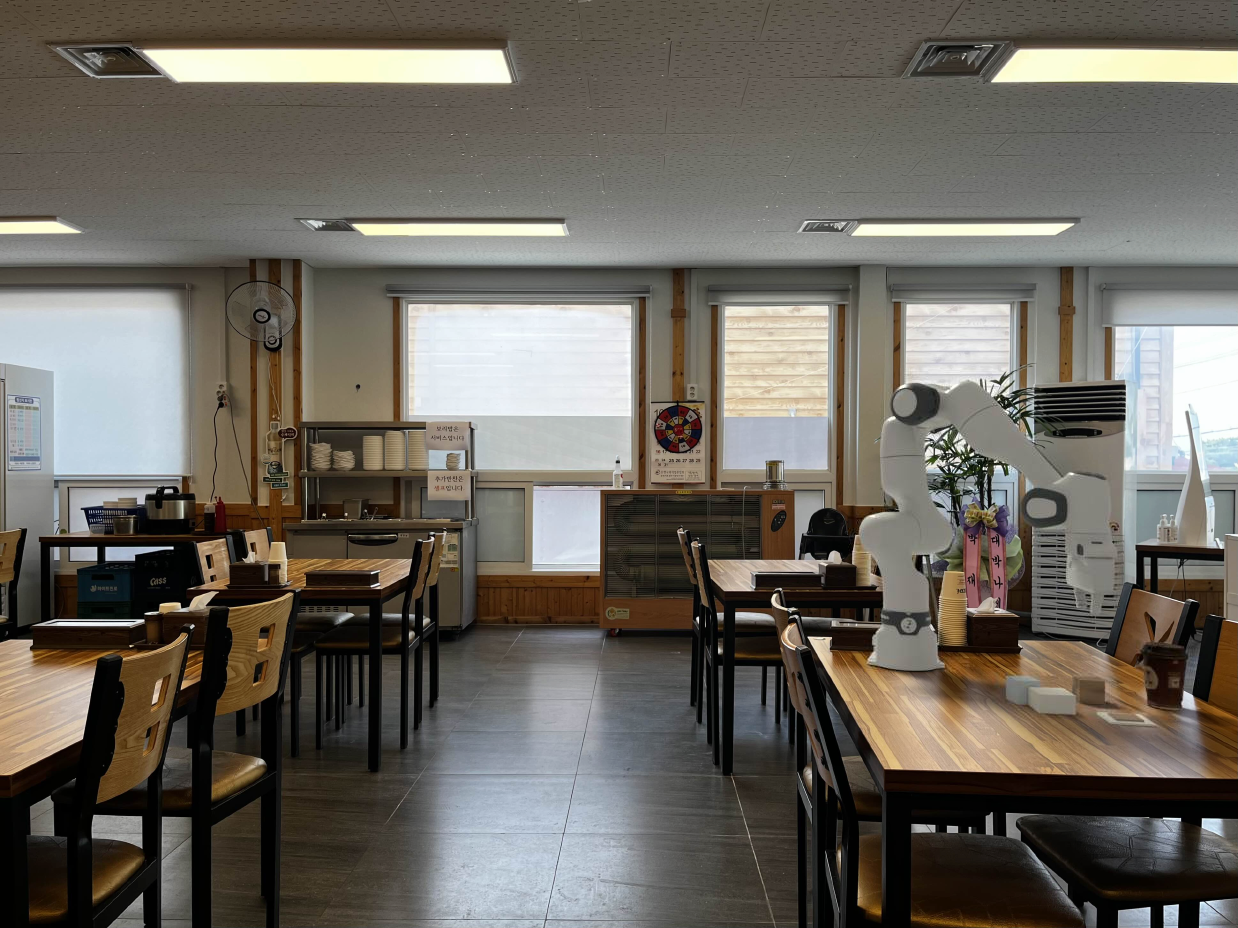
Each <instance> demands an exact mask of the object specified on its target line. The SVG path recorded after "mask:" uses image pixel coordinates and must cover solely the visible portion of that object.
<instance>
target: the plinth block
mask: <svg viewBox="0 0 1238 928" xmlns="http://www.w3.org/2000/svg"><path fill="white" fill-rule="evenodd" d="M1028 706H1029V707H1030V708H1032V709H1033V710H1034V711H1036V712H1037V713H1039V714H1055V715H1077V701H1076V696H1075V695H1074V694H1072V691H1068V690H1067V689H1066V688H1065V687H1047V686H1045V687H1044V686H1041V687H1028Z"/></svg>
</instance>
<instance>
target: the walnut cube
mask: <svg viewBox="0 0 1238 928" xmlns="http://www.w3.org/2000/svg"><path fill="white" fill-rule="evenodd" d="M1071 676H1072V677H1071V679H1072V681H1071V682H1072V683H1071V684H1072V686H1071V687H1072V688H1071V689H1072V691H1071V693H1072V694H1074V695H1075V696H1076V703H1079V704H1088V705H1106V680H1104V679H1103V678H1101V677H1099V676H1098V675H1081V674H1080V675H1079V674H1072V675H1071Z"/></svg>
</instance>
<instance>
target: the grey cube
mask: <svg viewBox="0 0 1238 928" xmlns="http://www.w3.org/2000/svg"><path fill="white" fill-rule="evenodd" d="M1028 687H1042V680H1041V679H1040V680H1039V679H1037V678H1035V677H1032V676H1030V675H1018V676H1017V675H1014V676H1013V675H1006V676H1005V694H1006V695H1005V700H1007V701H1010V702H1012V703H1014V704H1016V705H1017V706H1018V705H1020V706H1021V705H1022V706H1023V705H1026V706H1027V705H1028ZM1028 706H1029V705H1028Z"/></svg>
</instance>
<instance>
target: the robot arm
mask: <svg viewBox="0 0 1238 928" xmlns="http://www.w3.org/2000/svg"><path fill="white" fill-rule="evenodd" d="M889 402H890V403H889V404H890V406H889V408H890V411H891V414H892V416H890V417H888V418H887V419H886V420H885V421H884V422H883V424H882V429H881V434H880V445H879V446H880V447H879V457H880V459H879V460H880V462H879V463H880V480H881V481H880V483H881V488H882V490H883V492H884V493H885V494H887V495H888V496H890V497H891V498H892V499H893V501H895V503H896V505H897V507H898V511H883V512H882V511H881V512H879V513H874V514H870V515H867V516H866V517H864V518H863V520H862V521H861V522H860V523H861V524H860V526H859V529H858V537H859V542H860V544H861V546H862V547H863V550H865V551H866V552H868V554H869V555H871V556H872V558H873V559H874V561H875V562H876V565H877V566H878V568H879V572H880V575H881V580H882V598H883V601H882V605H883V607H882V608H881V613H880V617H881V619H880V622H881V626H880V627H879V628H878V629H877V631H876V632H875V634H873V636H872V638H871V639H872V640H871V641H872V642H871V645H872V646H873V652H872V653H871V654H870V656H869V657H868V658H867V661H866V665H872V666H876V667H877V666H878V667H883V668H884V669H885V668H886V669H891V670H899V671H914V672H915V671H918V672H919V671H931V670H935V669H936V670H937V669H945V668H946V666H945V665H946V664H945V663H944V662H942V661H941V660H939V659H938V658H939V657H938V654H939V653H938V636H937V635H938V634H937V633H935V631H933V630H932V628H931V624H932V623H931V622H932V621H931V620H932V616H931V615H932V614H931V611H930V606H929V605H930V604H929V603H930V602H929V601H930V597H929V595H930V584H929V580H928V578H927V577H926V576H925V575H924V574H923V573H921V572H920V571H918V570H917V568H916V566H915V565H914V561H913V556H919V555H920V556H922V555H923V556H925V555H926V556H927V555H933V554H937V553H940V552H943V551H946V550H948V548H950V545H951V544H952V541H953V537H954V530H953V525H952V524H951V522H950V520H949V519H948V518H947V517H946V516H945V515H943V513H941V512H940V510H939V509H938V508H937V506H936V504H935V502H934V500H933V498H932V496H931V494H930V491H929V485H928V479H927V478H928V477H927V465H926V464H927V463H926V448H925V447H926V446H925V445H926V443H925V442H926V438H927V436H928V434H929V433H930V434H933V435H936V434H938V433H940V432H943V431H945V430H948V429H950V428H952V427H954V428H955V429H956V430H957V431H958V433H959V434H960V436H961V437H962V438H963V440H964V441H965V442H966V443H967V444H968V446H969V447H971V448H972V449H973V450H974V451H975V452H976V453H977V454H979V455H980V456H983V457H986V458H989V459H992V460H995V461H999V462H1001V463H1004V464H1007V465H1009V466H1010V467H1011V466H1012V467H1013V468H1015V469H1016V470H1018V471H1019V472H1020V473H1021V474H1022V475H1023V476H1024V477H1025V478H1026V479H1027V481H1029V483H1030V484H1031V485H1032V486H1033V487H1034V488H1031V489H1029V490H1028V491H1027V492H1026V493H1025V494H1024V495H1023V496H1022V499H1021V502H1020V513H1021V516H1022V518H1023V520H1024V521H1025V523H1026V524H1027V525H1028V526H1030V527H1032V528H1034V529H1039V530H1051V531H1052V530H1053V531H1054V530H1055V531H1056V530H1059V531H1060V530H1061V531H1062V530H1063V531H1065V532H1064V533H1065V534H1064V535H1065V537H1064V539H1065V540H1064V541H1065V545H1064V546H1065V547H1064V548H1065V549H1064V550H1065V551H1064V552H1065V555H1067V556H1066V567H1065V568H1066V569H1065V580H1066V581H1065V582H1066V584H1067V585H1068V586H1070V587H1073V593H1074V598H1075V605H1076V608H1077V609H1079V610H1081V609H1083V610H1086V609H1087V608H1088V600H1086V599H1087V598H1086V597H1087V596H1086V593H1087V592H1088V593H1090V598H1091V602H1090V603H1091V604H1089V612H1090V614H1092V615H1097V616H1099V615H1101V614H1102V606H1103V604H1104V603H1103V602H1104V600H1105V595H1112V594H1113V591H1114V586H1115V575H1116V574H1115V573H1116V564H1115V563H1116V562H1115V560H1114V559H1117V558H1118V548H1117V547H1116V545H1115V544H1114V543H1113V539H1112V530H1111V526H1110V518H1111V515H1112V499H1111V498H1112V497H1111V489H1110V484H1109V481H1108V479H1107V478H1106V477H1105V476H1104V475H1103V474H1100V473H1096V472H1091V471H1082V470H1073V471H1069V472H1068V473H1067V474H1065V475H1063V474H1062V473H1061V472H1060V471H1059V470H1058V469H1057V468H1056V467H1055V465H1054V464H1053V463H1052V462H1051V461H1050V460H1049V459H1048V458H1047V457H1046V456H1045V454H1043V452H1042V451H1040V449H1039V448H1037V446H1036V445H1035V444H1034V443H1032V441H1031V440H1030V439H1029V438H1028V437H1027V436H1026V435H1025V434H1024V433H1023V432H1022V431H1021V429H1020V428H1019V427H1018V426H1017V424H1016V423H1015V422H1014V421H1013V420H1012V418H1011V417H1010V416H1009V415H1008V414H1007V412H1006V411H1005V410H1004V409H1003V407H1002V406H1001V405H1000V404H999V403H998V401H997V400H996V399H995V398H994V397H993V396H992V395H991V394H990V393H989V392H988V391H987V390H985V389H984V388H983V387H982V386H981V385H979V384H978V383H977V382H975V381H973V380H962V381H959V382H957V383H955V384H954V385H952V386H951V387H949V386H943V385H940V384H939V385H938V384H935V383H920V382H909V383H905V384H902V385H900V386H899V387H897V388H896V389H895V391H894V392H893V394H892V395H891V397H890V401H889Z"/></svg>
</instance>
